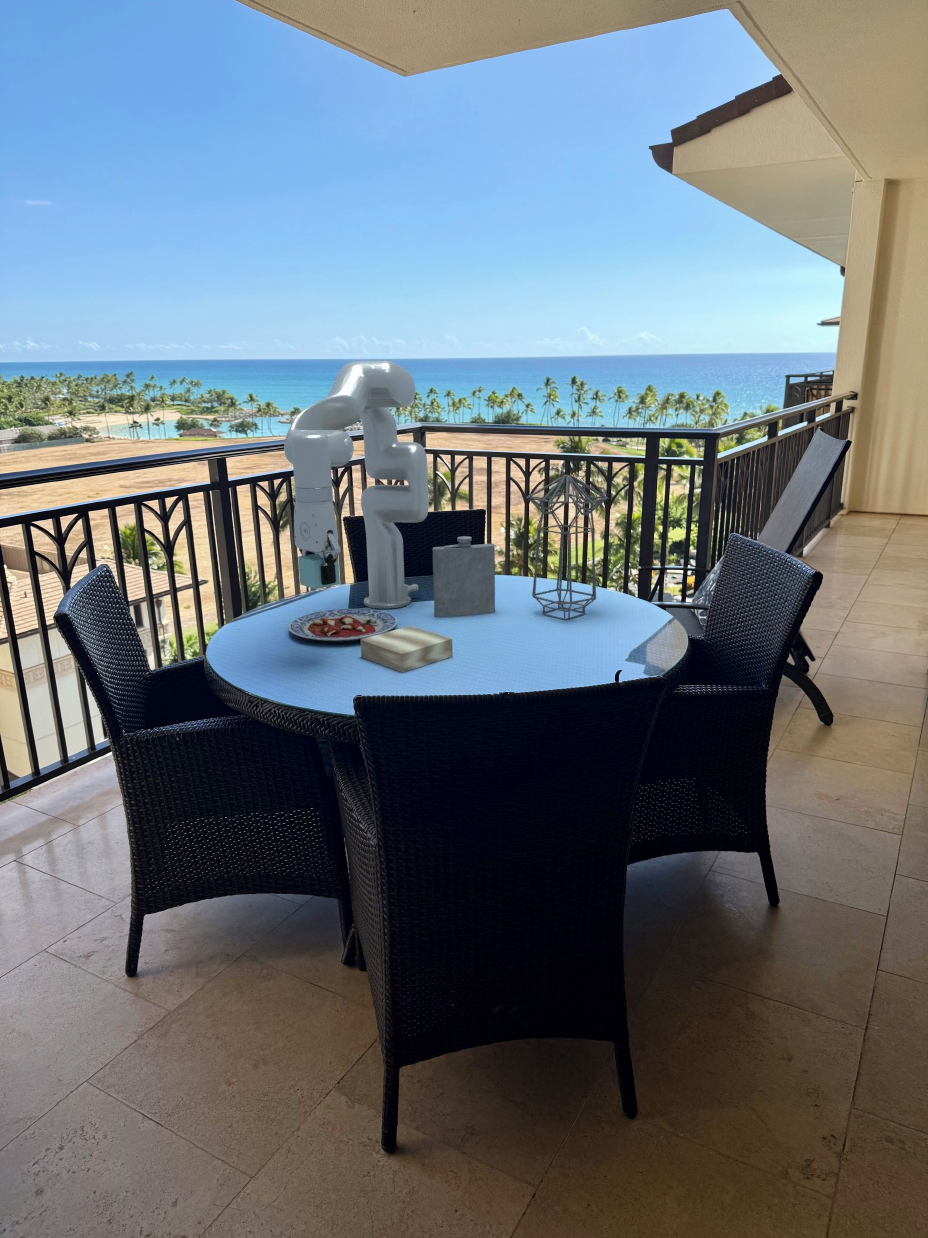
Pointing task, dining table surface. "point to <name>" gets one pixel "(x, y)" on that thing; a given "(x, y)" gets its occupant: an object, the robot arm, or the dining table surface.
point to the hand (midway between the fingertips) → (320, 580)
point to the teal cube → (314, 571)
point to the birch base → (406, 648)
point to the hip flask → (464, 579)
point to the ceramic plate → (342, 624)
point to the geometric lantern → (577, 489)
